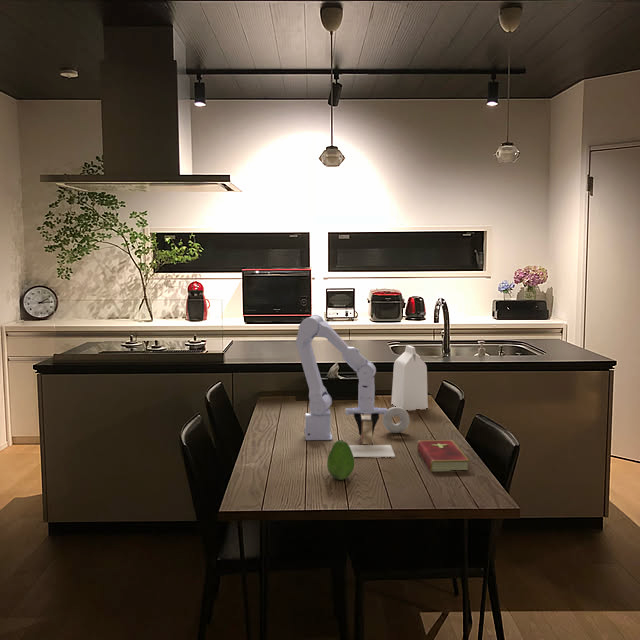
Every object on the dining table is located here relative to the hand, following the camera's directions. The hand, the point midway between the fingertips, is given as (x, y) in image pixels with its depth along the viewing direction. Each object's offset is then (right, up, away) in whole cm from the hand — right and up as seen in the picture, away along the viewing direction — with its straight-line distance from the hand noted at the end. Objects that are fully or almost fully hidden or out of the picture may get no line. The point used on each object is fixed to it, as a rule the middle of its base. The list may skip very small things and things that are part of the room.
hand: (366, 434), depth 240 cm
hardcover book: (+23, -6, -20) cm, 31 cm away
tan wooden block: (0, -2, 0) cm, 2 cm away
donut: (+12, -1, +10) cm, 16 cm away
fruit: (-10, -7, -37) cm, 39 cm away
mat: (0, -4, -12) cm, 13 cm away
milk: (+22, +3, +49) cm, 54 cm away
